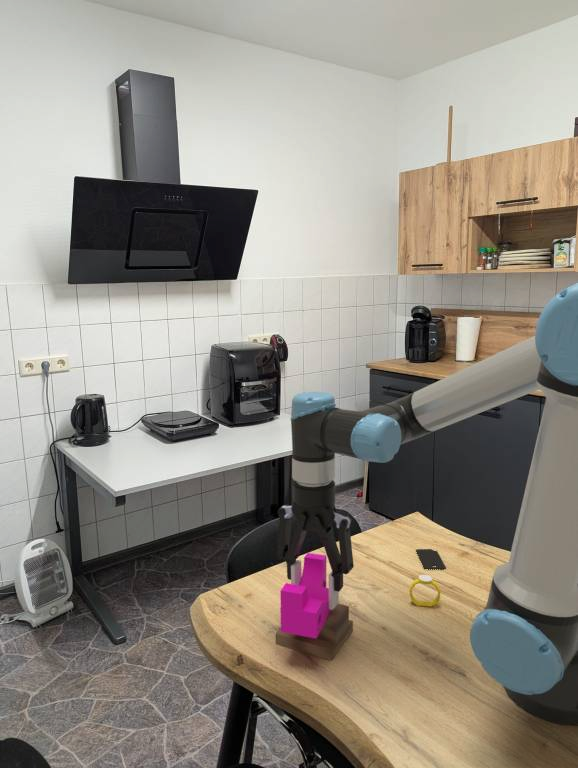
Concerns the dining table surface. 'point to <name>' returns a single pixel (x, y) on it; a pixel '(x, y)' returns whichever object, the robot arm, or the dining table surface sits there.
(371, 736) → the dining table surface
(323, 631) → the brown stepped wooden stand
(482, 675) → the dining table surface
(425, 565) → the black smartphone
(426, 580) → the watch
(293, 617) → the toy block
